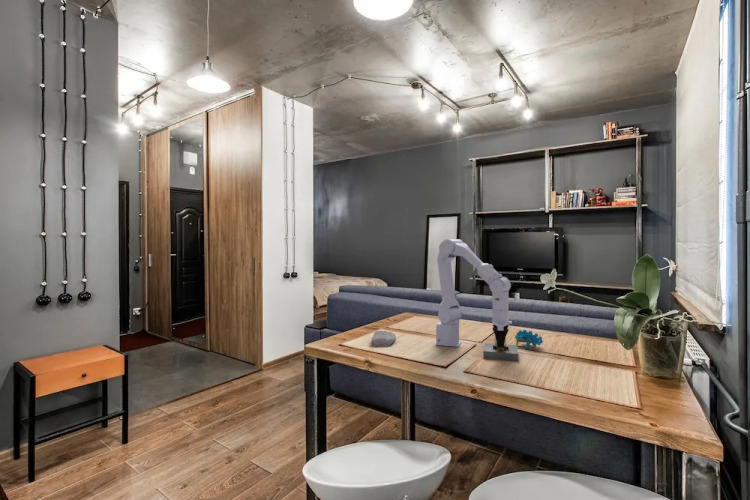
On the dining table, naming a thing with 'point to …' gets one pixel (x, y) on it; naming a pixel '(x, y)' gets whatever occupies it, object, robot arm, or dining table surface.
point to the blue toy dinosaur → (528, 338)
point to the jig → (500, 352)
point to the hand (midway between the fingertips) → (500, 345)
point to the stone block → (383, 338)
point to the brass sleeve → (500, 347)
